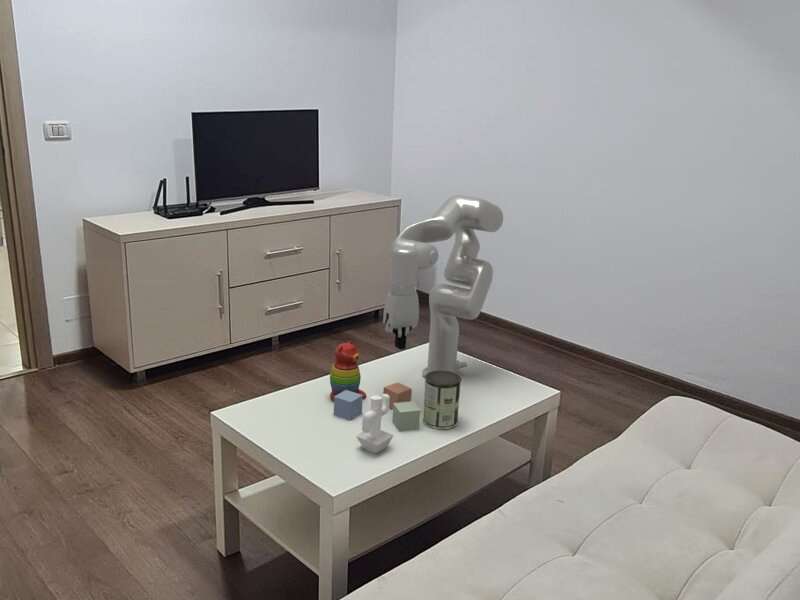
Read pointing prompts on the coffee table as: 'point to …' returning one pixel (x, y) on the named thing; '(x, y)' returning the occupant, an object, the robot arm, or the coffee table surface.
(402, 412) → the sage block
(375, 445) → the figurine
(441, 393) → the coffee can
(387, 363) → the coffee table surface
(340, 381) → the stacking bear
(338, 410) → the slate block
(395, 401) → the terracotta block
